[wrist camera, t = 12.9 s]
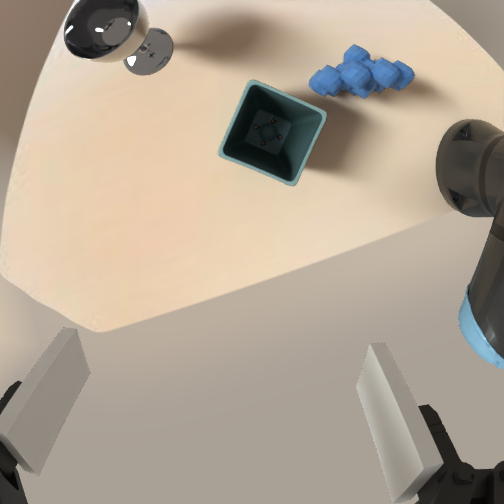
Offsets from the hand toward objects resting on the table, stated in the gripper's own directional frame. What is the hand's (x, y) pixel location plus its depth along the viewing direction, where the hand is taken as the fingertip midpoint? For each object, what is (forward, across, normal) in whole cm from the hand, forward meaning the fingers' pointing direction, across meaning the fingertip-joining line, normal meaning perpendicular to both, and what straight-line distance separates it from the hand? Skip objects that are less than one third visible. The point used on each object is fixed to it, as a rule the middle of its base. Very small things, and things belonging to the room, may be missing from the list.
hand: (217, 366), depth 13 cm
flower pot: (+32, -3, -9) cm, 33 cm away
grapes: (+32, -13, -18) cm, 38 cm away
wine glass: (+32, +13, -21) cm, 40 cm away
